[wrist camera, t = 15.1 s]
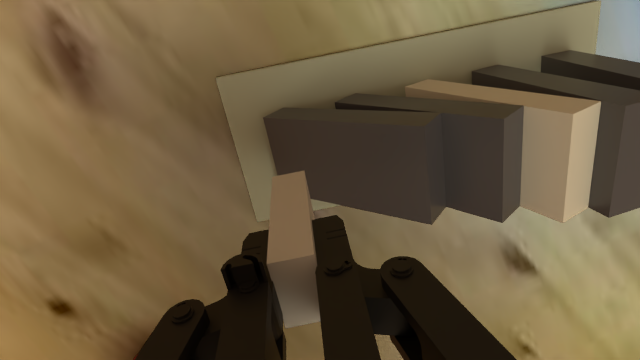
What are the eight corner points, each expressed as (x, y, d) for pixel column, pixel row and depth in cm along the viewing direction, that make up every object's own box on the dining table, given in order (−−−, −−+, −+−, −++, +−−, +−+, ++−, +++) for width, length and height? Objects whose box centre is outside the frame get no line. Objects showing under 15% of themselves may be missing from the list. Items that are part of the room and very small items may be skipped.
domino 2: (347, 177, 25) (502, 222, 18) (334, 102, 23) (504, 119, 16) (366, 166, 26) (520, 205, 19) (355, 93, 24) (523, 105, 17)
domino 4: (472, 147, 26) (608, 217, 17) (471, 70, 24) (625, 105, 15) (497, 140, 26) (643, 206, 17) (498, 64, 24) (664, 95, 15)
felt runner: (257, 219, 28) (257, 222, 27) (216, 77, 24) (215, 78, 23) (579, 154, 28) (583, 156, 27) (596, 0, 24) (601, 0, 23)
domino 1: (281, 192, 25) (431, 224, 19) (262, 117, 23) (424, 126, 17) (299, 180, 26) (446, 206, 20) (283, 107, 24) (441, 112, 18)
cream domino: (411, 162, 26) (562, 222, 17) (404, 86, 24) (573, 114, 15) (432, 153, 26) (587, 207, 18) (427, 79, 24) (601, 101, 16)
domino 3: (537, 132, 26) (669, 203, 17) (541, 55, 24) (694, 90, 15) (563, 127, 26) (709, 194, 17) (570, 49, 24) (740, 81, 15)
